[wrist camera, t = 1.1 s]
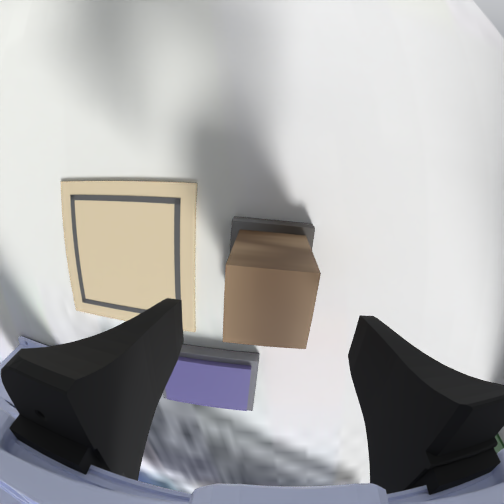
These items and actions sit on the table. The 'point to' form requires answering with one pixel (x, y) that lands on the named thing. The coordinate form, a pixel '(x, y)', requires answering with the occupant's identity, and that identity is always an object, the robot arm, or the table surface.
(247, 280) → the stamp
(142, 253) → the card
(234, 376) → the pad
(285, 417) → the table surface
